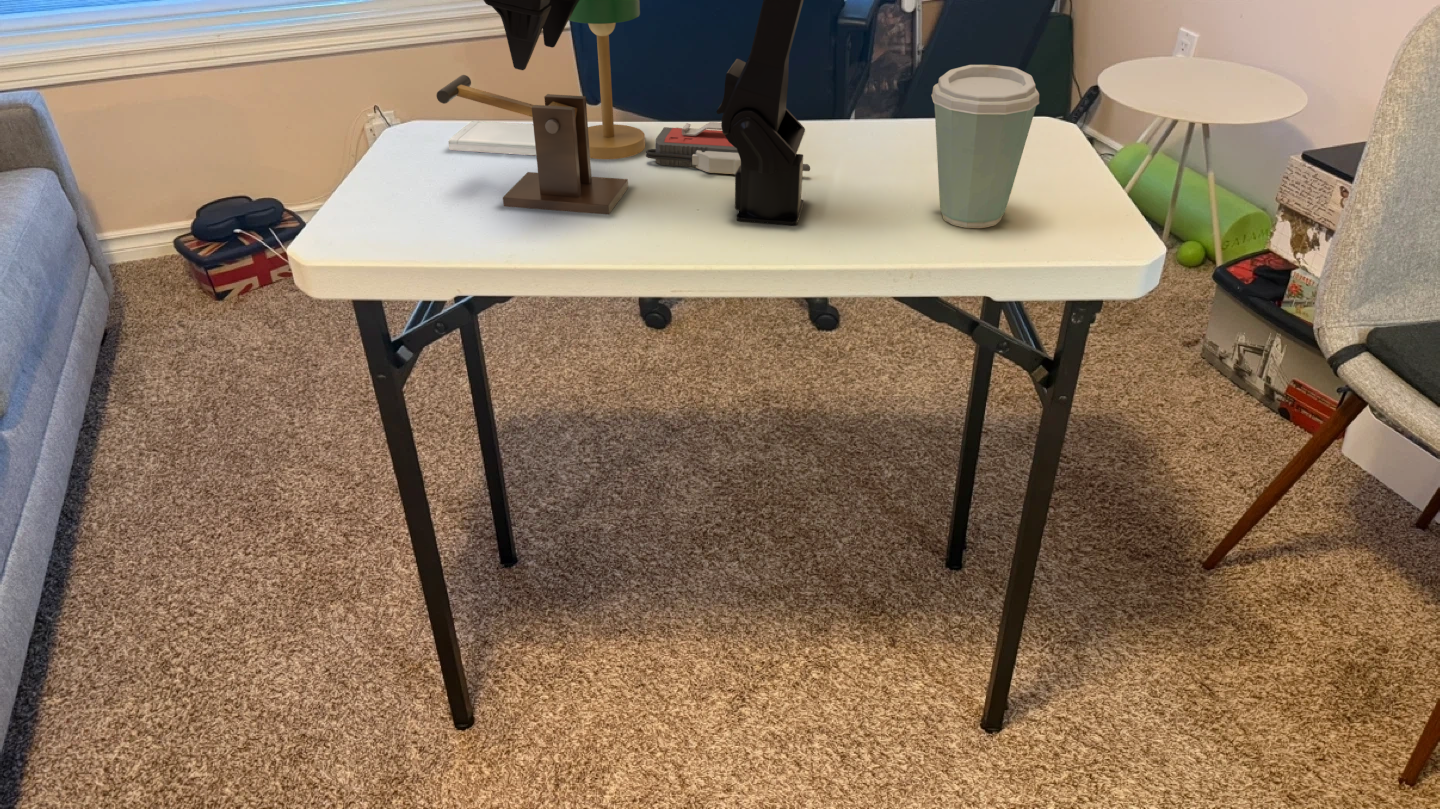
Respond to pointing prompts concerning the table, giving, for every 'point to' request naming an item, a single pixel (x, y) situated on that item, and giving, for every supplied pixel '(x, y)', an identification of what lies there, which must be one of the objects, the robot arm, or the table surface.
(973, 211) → the disposable coffee cup
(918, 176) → the table surface
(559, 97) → the switch bracket
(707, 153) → the red boxy piece
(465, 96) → the switch lever
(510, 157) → the table surface
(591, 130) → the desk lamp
